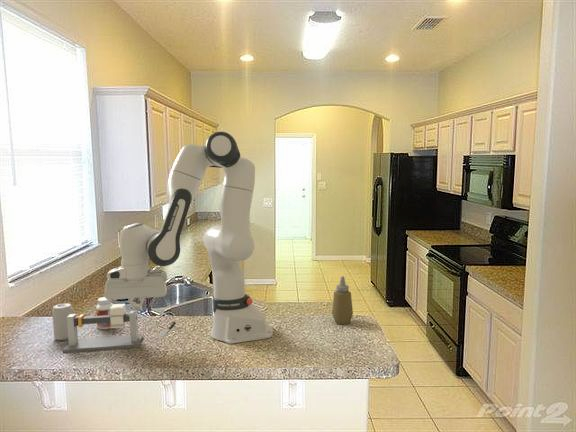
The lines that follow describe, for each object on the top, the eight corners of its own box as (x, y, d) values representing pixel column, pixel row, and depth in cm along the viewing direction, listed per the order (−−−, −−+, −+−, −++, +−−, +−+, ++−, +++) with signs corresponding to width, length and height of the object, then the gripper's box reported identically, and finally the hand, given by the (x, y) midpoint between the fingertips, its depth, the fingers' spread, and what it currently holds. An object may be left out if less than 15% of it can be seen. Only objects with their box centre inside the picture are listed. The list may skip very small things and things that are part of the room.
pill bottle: (93, 328, 165) (91, 300, 164) (105, 323, 171) (104, 295, 170) (106, 330, 163) (104, 301, 162) (118, 325, 168) (116, 297, 167)
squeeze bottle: (329, 324, 166) (329, 278, 164) (335, 317, 173) (335, 273, 171) (349, 327, 163) (350, 280, 161) (355, 320, 170) (355, 275, 168)
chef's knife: (149, 344, 151) (158, 343, 151) (149, 341, 151) (157, 340, 151) (168, 324, 170) (176, 323, 170) (168, 321, 170) (175, 320, 170)
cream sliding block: (126, 322, 152) (125, 303, 151) (123, 327, 148) (122, 307, 147) (114, 323, 152) (113, 304, 151) (110, 328, 147) (109, 308, 146)
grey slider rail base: (143, 337, 156) (141, 307, 155) (138, 347, 147) (136, 315, 146) (72, 341, 152) (69, 311, 151) (62, 352, 143) (60, 320, 142)
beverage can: (69, 333, 161) (67, 301, 159) (77, 337, 157) (75, 304, 155) (51, 338, 156) (48, 305, 154) (59, 342, 152) (56, 309, 150)
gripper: (167, 267, 153) (169, 305, 155) (106, 270, 150) (108, 308, 152) (165, 271, 147) (167, 311, 148) (101, 274, 144) (104, 314, 146)
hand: (137, 310), depth 150 cm, fingers closed
